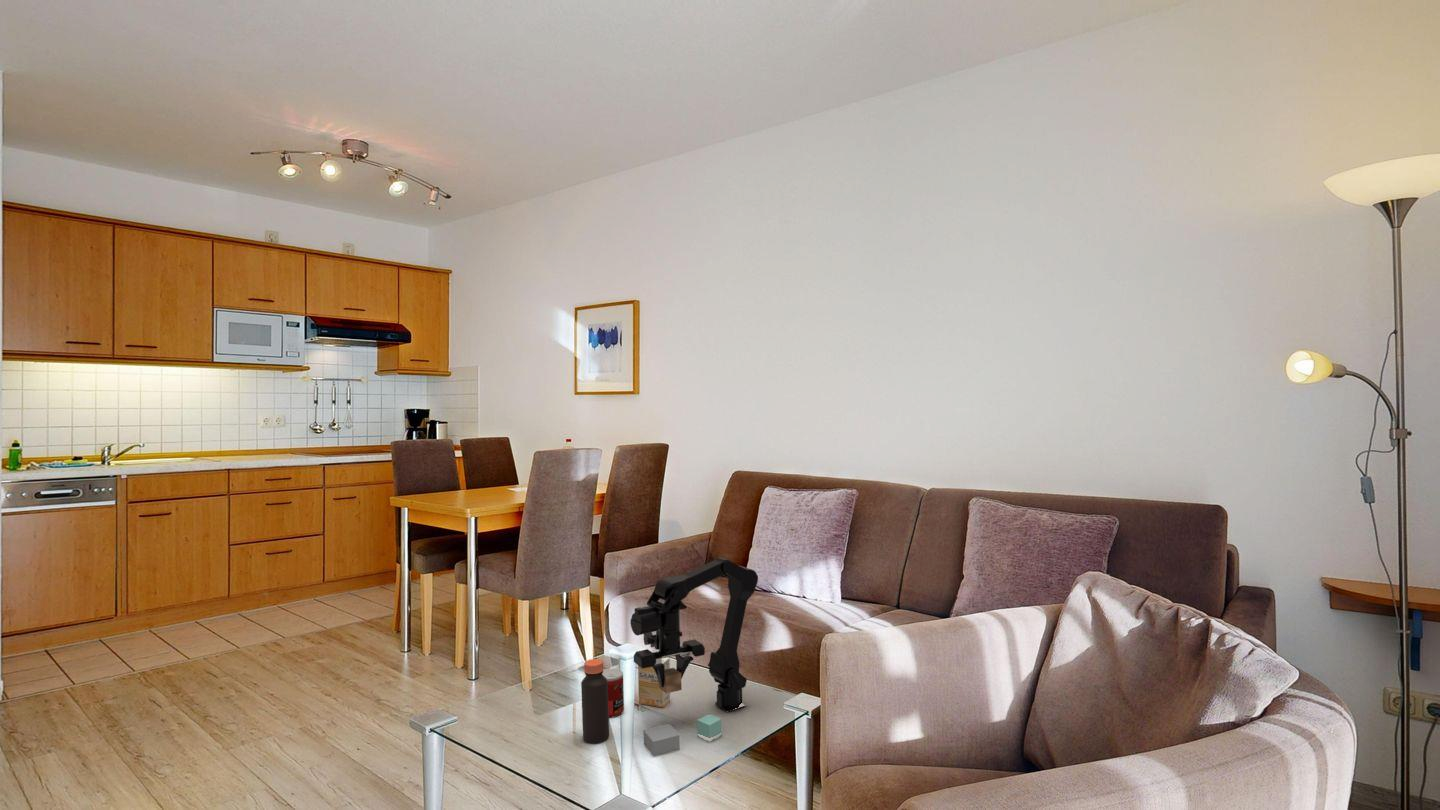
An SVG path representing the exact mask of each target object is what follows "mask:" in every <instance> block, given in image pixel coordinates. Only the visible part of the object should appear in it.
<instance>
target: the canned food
mask: <svg viewBox="0 0 1440 810" xmlns="http://www.w3.org/2000/svg"><path fill="white" fill-rule="evenodd" d="M602 675H603V676H604V677H606V679H607V681H608V711H609V719H612V718H616V717H619V716H621V715H622V714H623V713H622V712H624V710H625V701H624V700H625V695H624V691H625V690H624V689H625V688H624V672H623V671H622V670H621V669H618V668H611V667H610V668H604V670H603V673H602ZM621 713H622V714H621Z"/></svg>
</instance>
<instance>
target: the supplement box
mask: <svg viewBox="0 0 1440 810" xmlns="http://www.w3.org/2000/svg"><path fill="white" fill-rule="evenodd" d="M670 659H671V658H670V657H667V658H662V664H664V665H665V670H666V669H670V667H671V666H670V664H671V661H670ZM637 676H638V677H637V680H638V682H637V684H638V685H637V687H638V690H637V691H638V704H641V705H646V706H652V707H658V708H662V709H664V708H665V707H666V706H667V705H668V704H669V703H671V693H667V694H666V693H665V692H664V691H663V690H661V689H660V688H659V681H658V678H657V675H656V673H655V670H654V669H653V667H648V668H641V667H640V666H638V665H637Z"/></svg>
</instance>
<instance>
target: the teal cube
mask: <svg viewBox="0 0 1440 810" xmlns="http://www.w3.org/2000/svg"><path fill="white" fill-rule="evenodd" d="M722 724H723V723H722V718H719V717H718V716H714V715H712V714H710V713H709V714H706V715H704V716H702V717H701V718H698V719H696V725H697V726H696V728H697V729H696V730H697V732H696V733H697V734H700V735H703V736H705V737H708V738H711V737H714V736H716V735H718V734H720V733H722V734H723V728H722V727H723V725H722Z"/></svg>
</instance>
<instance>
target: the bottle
mask: <svg viewBox="0 0 1440 810" xmlns="http://www.w3.org/2000/svg"><path fill="white" fill-rule="evenodd" d="M583 666H584V667H583V668H584V669H583V670H584V674H585V677H584V678H583V679H582V681H581V682H580V687H581V690H580V691H581V692H580V693H581V719H582V722H581V723H582V738H583V741H584V742H585V743H589V744H599V743H600V744H601V743H603V742H605V741H607V740H608V739H609V738H610V737H609V736H610V718H609V711H608V681H607V679H606V677H604V676H603V675H602V673H603V670H604V669H605V668H604V660H602V659H600V658H591V659H587V660H585V661H584V664H583Z"/></svg>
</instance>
